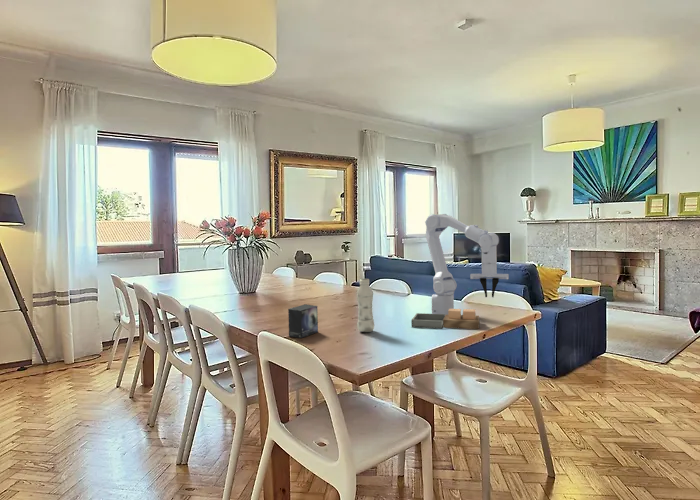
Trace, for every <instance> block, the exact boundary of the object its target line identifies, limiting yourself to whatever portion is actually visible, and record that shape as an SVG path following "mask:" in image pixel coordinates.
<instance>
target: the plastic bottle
mask: <svg viewBox="0 0 700 500" xmlns="http://www.w3.org/2000/svg"><path fill="white" fill-rule="evenodd" d="M370 284H371V283H370V279H369V278H360V279H359V287H358V289H357V291H356V301H357V308H358V309H357V310H358V314H357V317H358V318H357V324H356V326H357V330H358V331H359V332H361V333H370V332H373V331H374V329H375V321H374V316H373V315H374V314H373V313H374V312H373V300H374V291H373V290H372V287H370Z"/></svg>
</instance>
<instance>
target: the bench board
mask: <svg viewBox="0 0 700 500" xmlns="http://www.w3.org/2000/svg"><path fill="white" fill-rule="evenodd" d="M479 327H480V315H476V318H475V319H463V314H461V319H448V315H445V317H444V319H443V326H442V328H444V329H445V328H446V329H447V328H448V329H463V330H464V329H467V330H479Z"/></svg>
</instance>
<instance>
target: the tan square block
mask: <svg viewBox="0 0 700 500" xmlns="http://www.w3.org/2000/svg"><path fill="white" fill-rule="evenodd" d="M461 315H462V309H461V308H454V309H449V311H448V319H461Z"/></svg>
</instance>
